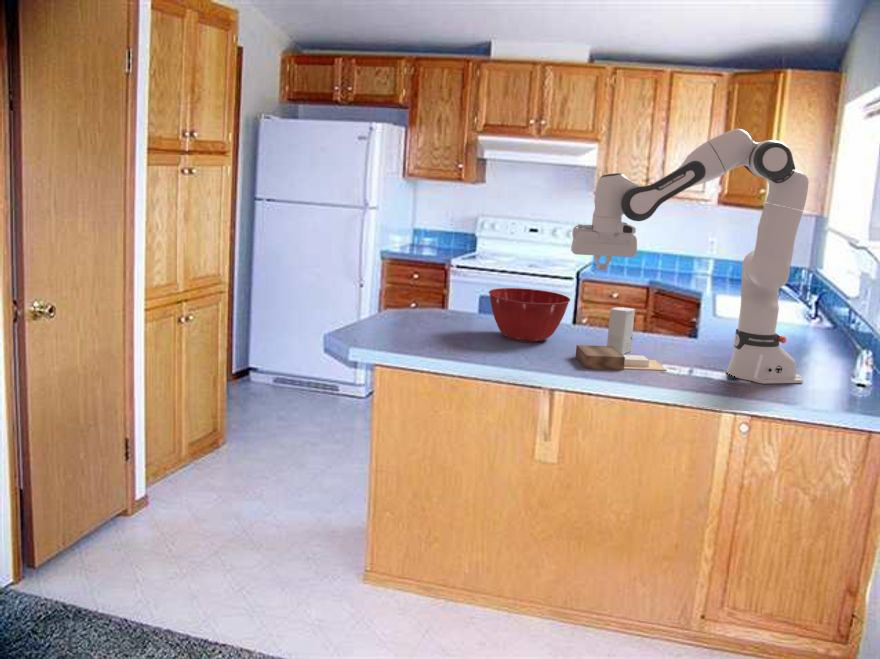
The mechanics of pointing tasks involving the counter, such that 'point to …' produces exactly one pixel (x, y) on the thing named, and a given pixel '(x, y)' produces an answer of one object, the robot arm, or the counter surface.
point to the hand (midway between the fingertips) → (601, 270)
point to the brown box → (600, 357)
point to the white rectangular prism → (635, 360)
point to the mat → (652, 366)
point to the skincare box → (621, 329)
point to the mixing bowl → (527, 312)
